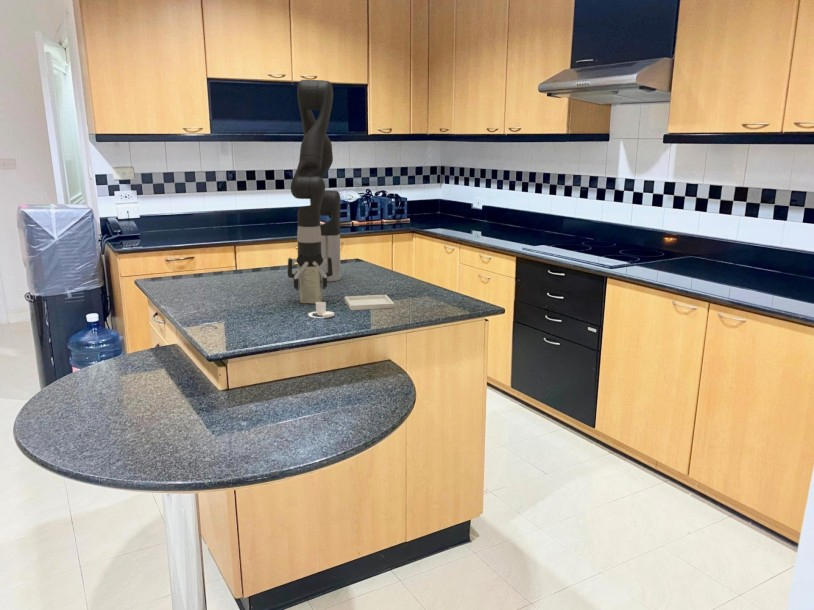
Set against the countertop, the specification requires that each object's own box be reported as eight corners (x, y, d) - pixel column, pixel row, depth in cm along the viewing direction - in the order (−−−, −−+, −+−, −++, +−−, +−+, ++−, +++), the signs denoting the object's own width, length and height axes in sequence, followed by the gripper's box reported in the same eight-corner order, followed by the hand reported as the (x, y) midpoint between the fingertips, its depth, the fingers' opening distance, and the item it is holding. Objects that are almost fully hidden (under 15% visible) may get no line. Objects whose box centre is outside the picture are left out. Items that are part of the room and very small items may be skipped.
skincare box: (322, 300, 211) (321, 264, 208) (317, 304, 207) (316, 267, 204) (304, 299, 213) (303, 263, 210) (299, 302, 209) (298, 266, 205)
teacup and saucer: (337, 319, 192) (337, 306, 191) (310, 321, 190) (310, 307, 189) (332, 311, 200) (331, 299, 199) (306, 313, 198) (306, 300, 197)
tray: (344, 300, 212) (344, 296, 211) (386, 299, 215) (386, 294, 215) (350, 310, 200) (350, 305, 200) (394, 308, 204) (394, 303, 203)
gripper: (330, 237, 210) (330, 286, 214) (285, 238, 207) (287, 287, 211) (333, 241, 203) (333, 291, 207) (287, 242, 200) (289, 293, 204)
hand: (310, 289), depth 209 cm, fingers open, 8 cm apart
